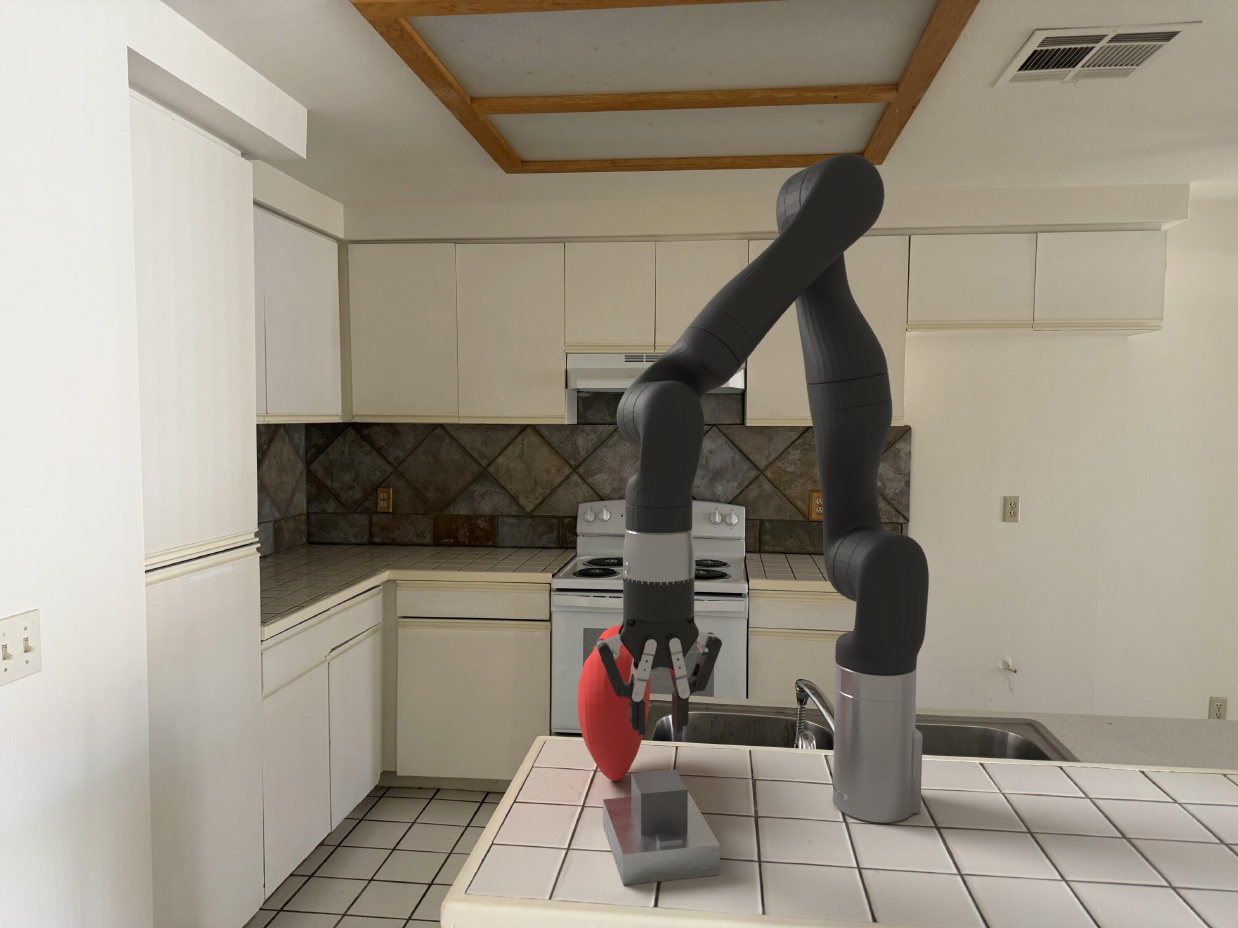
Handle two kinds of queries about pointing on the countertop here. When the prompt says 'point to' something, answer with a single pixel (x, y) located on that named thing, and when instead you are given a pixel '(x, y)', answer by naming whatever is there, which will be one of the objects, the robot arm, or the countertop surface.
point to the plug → (659, 802)
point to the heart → (608, 713)
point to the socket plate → (659, 846)
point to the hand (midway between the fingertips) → (658, 730)
